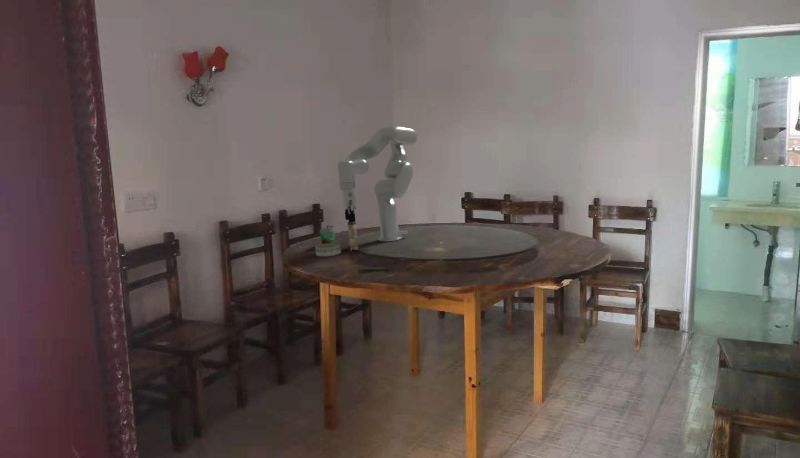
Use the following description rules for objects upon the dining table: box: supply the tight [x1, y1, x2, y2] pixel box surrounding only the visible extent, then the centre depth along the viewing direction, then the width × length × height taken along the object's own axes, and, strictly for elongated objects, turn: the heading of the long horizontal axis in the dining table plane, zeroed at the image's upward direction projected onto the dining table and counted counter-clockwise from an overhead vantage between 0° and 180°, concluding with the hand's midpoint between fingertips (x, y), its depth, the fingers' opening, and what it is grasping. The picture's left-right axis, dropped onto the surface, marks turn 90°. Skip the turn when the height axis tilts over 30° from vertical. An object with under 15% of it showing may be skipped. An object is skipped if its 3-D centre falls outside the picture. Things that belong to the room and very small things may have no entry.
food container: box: [319, 224, 336, 245], centre depth 328 cm, size 12×6×10 cm, turn 168°
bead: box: [314, 242, 342, 257], centre depth 308 cm, size 12×12×4 cm
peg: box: [347, 221, 359, 252], centre depth 310 cm, size 4×4×14 cm
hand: (350, 220), depth 308 cm, fingers open, 9 cm apart
